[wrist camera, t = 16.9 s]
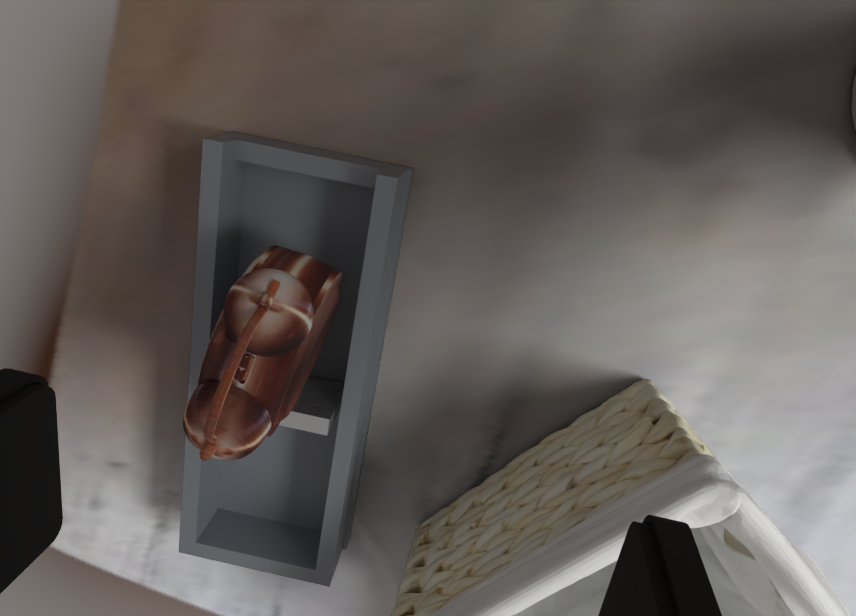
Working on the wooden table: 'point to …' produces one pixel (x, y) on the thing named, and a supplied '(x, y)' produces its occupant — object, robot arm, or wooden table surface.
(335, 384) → the pusher plate
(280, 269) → the alarm clock
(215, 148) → the tray
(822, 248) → the wooden table surface
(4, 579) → the robot arm
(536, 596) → the storage basket
